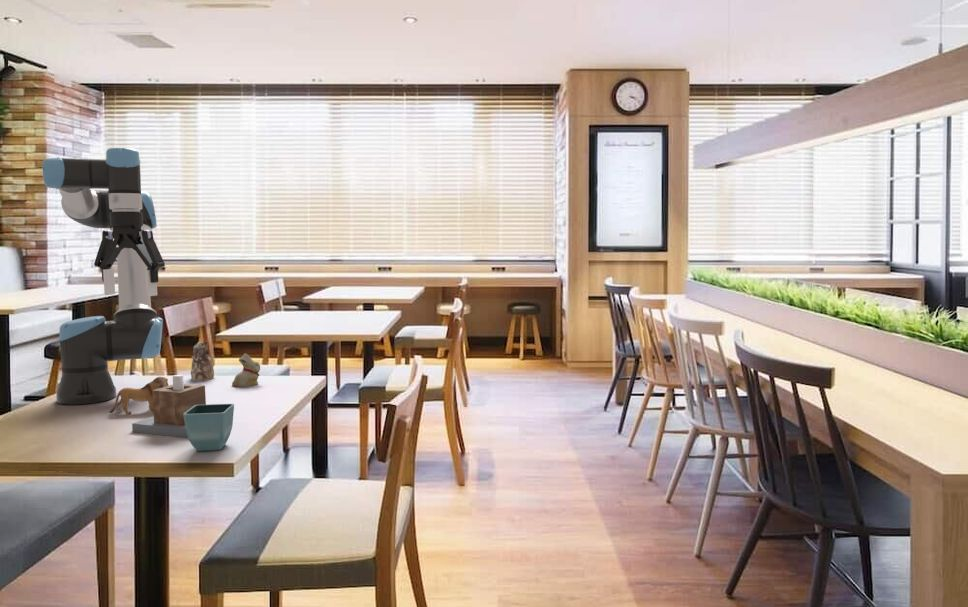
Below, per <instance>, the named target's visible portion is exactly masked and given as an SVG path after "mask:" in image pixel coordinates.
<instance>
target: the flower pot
mask: <svg viewBox="0 0 968 607" xmlns="http://www.w3.org/2000/svg"><path fill="white" fill-rule="evenodd" d="M234 410H235V404H234V403H216V404H215V403H212V404H210V403H209V404H206V405H194V406H193V407H192V408H190V409H189V410H188V411H186V412H185V413H184V414H183V416H184V421H185V427H186V432H187V436H188V437H187V438H188V440H189V443H190V444H191V446H192V448H194V450H195V451H197V452H201V451H205V452H206V451H220V450H221V449H222V448H223V447H224V446H225V445H226V444H227V442H228V440H229V438H230V436H231V433H232V429H233V423H234Z"/></svg>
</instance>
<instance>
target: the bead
mask: <svg viewBox="0 0 968 607" xmlns="http://www.w3.org/2000/svg"><path fill="white" fill-rule="evenodd" d="M152 396H153V412H152V413H153V416H154V423H159V424H169V425H179V426H183V425H185V421H184V416H183V414H184V413H185V412H186V411H188V410H189V409H190V408H192V407H193V406H194V405H207V400H206V385H205V384H192V383H184V389H183V390H173V384H170V385H169V384H168V386H166V387H162V388H159V389H155V390H152Z"/></svg>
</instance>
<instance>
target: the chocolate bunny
mask: <svg viewBox="0 0 968 607" xmlns="http://www.w3.org/2000/svg"><path fill="white" fill-rule="evenodd" d="M238 361H239V362H240V364H241V365H242V366H243V367H242V371H240V372H238V373H237V374H236V375H235V376H234V379H233V381H232V382H231V386H232V387H239V388H240V387H251V386H256V385H258V384H259V382H258V378H259V376H260V374H259V372H261V371H260V370H261V365H260V363H259V362H258V361H255V360H254V359H252V357H250V355H249V354H247V353H244V354H243V355H242V356H241V357H239V358H238Z"/></svg>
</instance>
